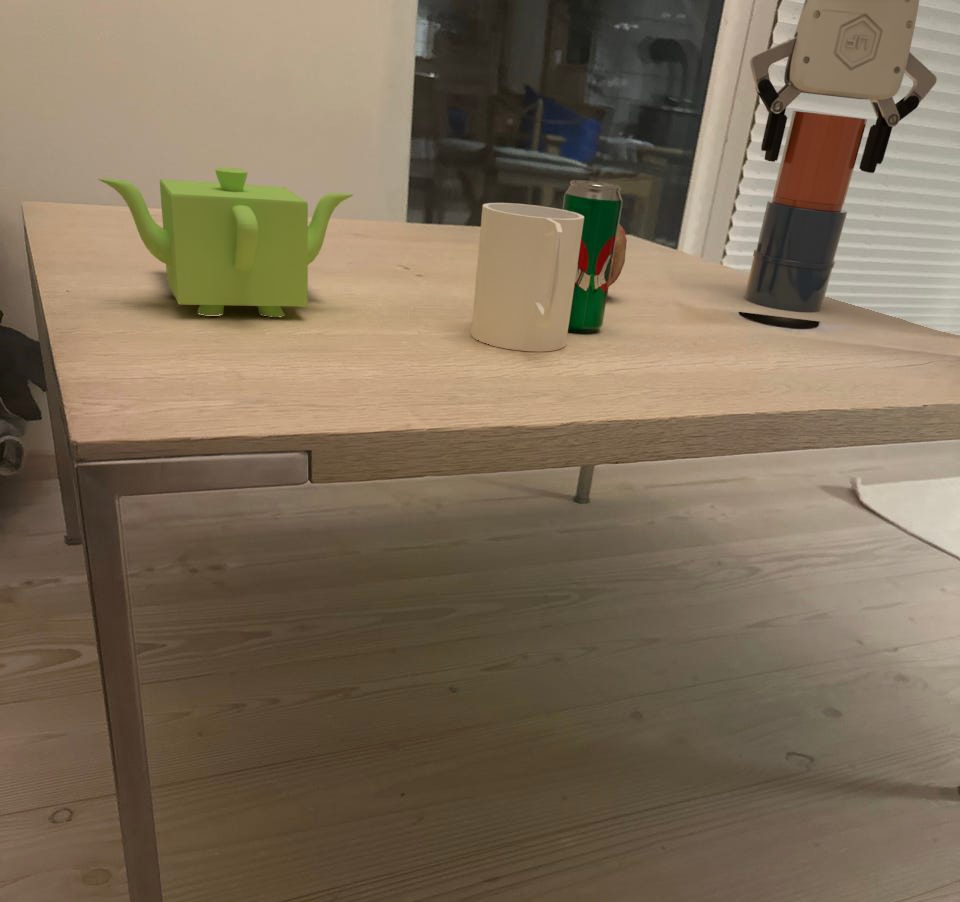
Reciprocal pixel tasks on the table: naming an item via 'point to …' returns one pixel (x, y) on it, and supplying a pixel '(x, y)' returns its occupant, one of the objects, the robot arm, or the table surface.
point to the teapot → (232, 240)
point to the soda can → (593, 250)
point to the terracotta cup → (818, 161)
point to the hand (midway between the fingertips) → (818, 165)
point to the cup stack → (793, 263)
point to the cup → (525, 276)
